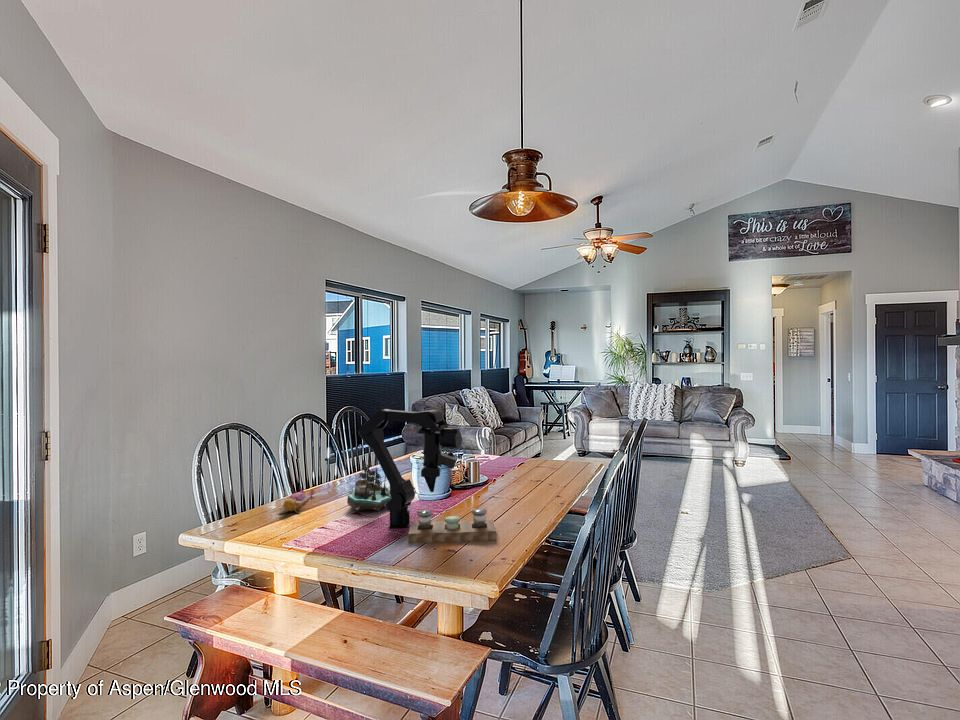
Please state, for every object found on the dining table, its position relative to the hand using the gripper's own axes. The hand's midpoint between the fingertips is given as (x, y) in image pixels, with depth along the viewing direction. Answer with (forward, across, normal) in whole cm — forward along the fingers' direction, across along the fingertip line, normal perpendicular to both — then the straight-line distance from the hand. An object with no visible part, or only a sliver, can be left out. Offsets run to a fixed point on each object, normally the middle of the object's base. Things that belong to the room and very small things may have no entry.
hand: (432, 491), depth 183 cm
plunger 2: (+9, -7, -16) cm, 20 cm away
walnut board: (+13, -7, -7) cm, 16 cm away
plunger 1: (+9, -7, +2) cm, 12 cm away
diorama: (+14, +31, +25) cm, 42 cm away
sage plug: (+12, -7, -7) cm, 16 cm away
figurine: (+14, +33, +56) cm, 67 cm away
